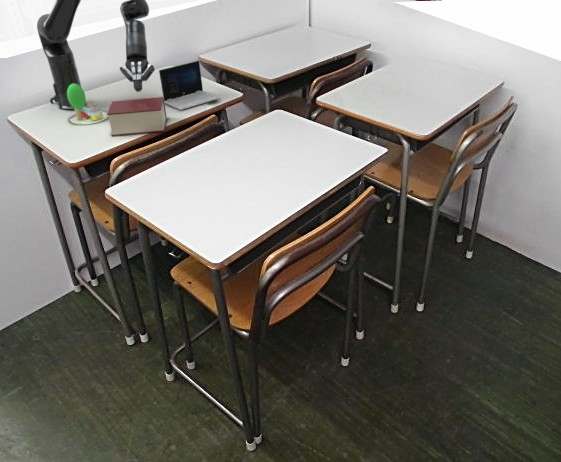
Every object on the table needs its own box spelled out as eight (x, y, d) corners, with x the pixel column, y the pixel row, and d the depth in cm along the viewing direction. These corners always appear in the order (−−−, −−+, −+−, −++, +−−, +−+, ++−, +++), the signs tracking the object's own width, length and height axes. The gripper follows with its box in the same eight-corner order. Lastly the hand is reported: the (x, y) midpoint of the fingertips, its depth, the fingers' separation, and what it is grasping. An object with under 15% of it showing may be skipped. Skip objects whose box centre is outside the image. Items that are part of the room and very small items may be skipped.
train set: (106, 81, 188) (68, 90, 181) (115, 117, 195) (78, 127, 189) (91, 73, 198) (54, 81, 191) (99, 107, 206) (64, 116, 199)
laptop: (180, 111, 198) (175, 76, 191) (164, 103, 206) (158, 70, 199) (220, 99, 208) (216, 66, 200) (202, 92, 216) (198, 60, 209)
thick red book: (111, 136, 180) (106, 114, 176) (116, 122, 191) (112, 101, 187) (164, 131, 182) (161, 109, 177) (166, 118, 193) (163, 96, 188)
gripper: (115, 43, 192) (117, 87, 189) (152, 41, 193) (154, 84, 190) (120, 54, 200) (122, 96, 196) (156, 52, 201) (158, 94, 197)
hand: (138, 90), depth 193 cm, fingers closed
